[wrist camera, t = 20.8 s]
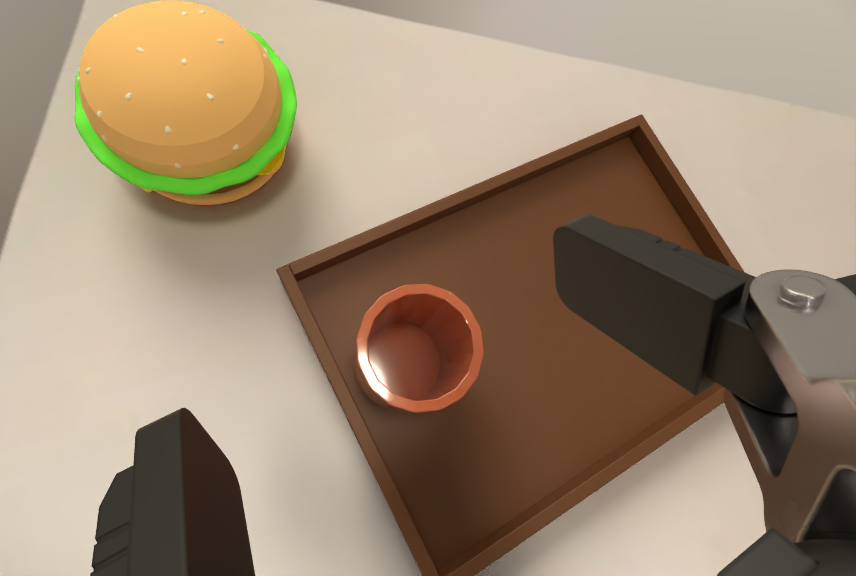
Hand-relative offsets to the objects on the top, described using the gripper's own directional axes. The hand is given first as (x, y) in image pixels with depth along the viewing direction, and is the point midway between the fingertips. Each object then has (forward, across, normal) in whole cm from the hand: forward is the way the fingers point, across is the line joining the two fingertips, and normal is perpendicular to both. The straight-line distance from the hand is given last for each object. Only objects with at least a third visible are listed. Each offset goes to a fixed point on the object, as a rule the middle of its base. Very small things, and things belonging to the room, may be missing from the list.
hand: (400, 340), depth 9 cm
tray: (+13, -13, +16) cm, 24 cm away
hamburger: (+28, +2, +1) cm, 28 cm away
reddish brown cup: (+14, -3, +14) cm, 20 cm away
